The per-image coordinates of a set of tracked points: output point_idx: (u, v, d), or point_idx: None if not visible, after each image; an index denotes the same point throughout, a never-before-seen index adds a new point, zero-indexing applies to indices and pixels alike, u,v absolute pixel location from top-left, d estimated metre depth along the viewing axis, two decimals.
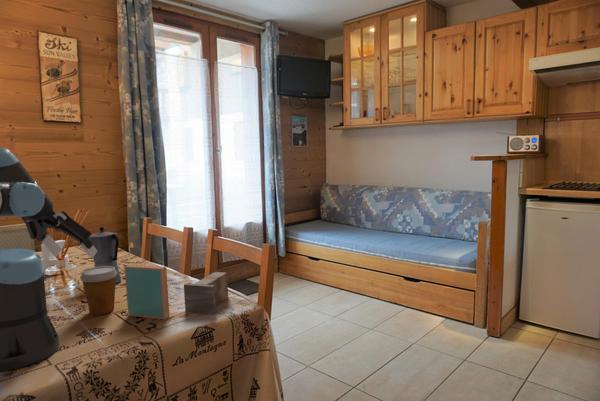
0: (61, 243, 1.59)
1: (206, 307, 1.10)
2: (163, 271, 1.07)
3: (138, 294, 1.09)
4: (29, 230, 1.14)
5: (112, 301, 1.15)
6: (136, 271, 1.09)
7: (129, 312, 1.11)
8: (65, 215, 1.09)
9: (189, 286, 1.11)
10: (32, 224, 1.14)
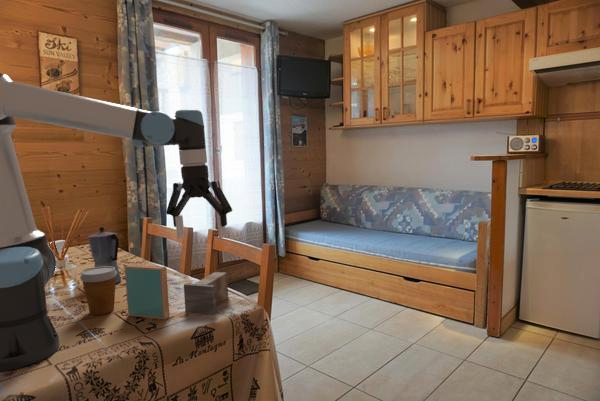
0: (61, 243, 1.59)
1: (206, 307, 1.10)
2: (163, 271, 1.07)
3: (138, 294, 1.09)
4: (171, 201, 1.17)
5: (112, 301, 1.15)
6: (136, 271, 1.09)
7: (129, 312, 1.11)
8: (218, 184, 1.14)
9: (189, 286, 1.11)
10: (177, 195, 1.18)
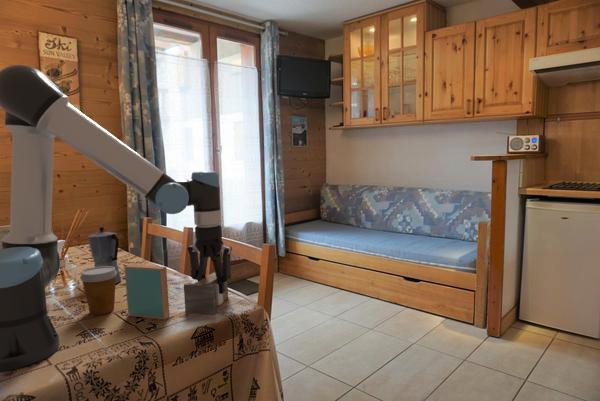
0: (61, 243, 1.59)
1: (206, 307, 1.10)
2: (163, 271, 1.07)
3: (138, 294, 1.09)
4: (192, 265, 1.17)
5: (112, 301, 1.15)
6: (136, 271, 1.09)
7: (129, 312, 1.11)
8: (230, 251, 1.15)
9: (189, 286, 1.11)
10: (195, 258, 1.18)
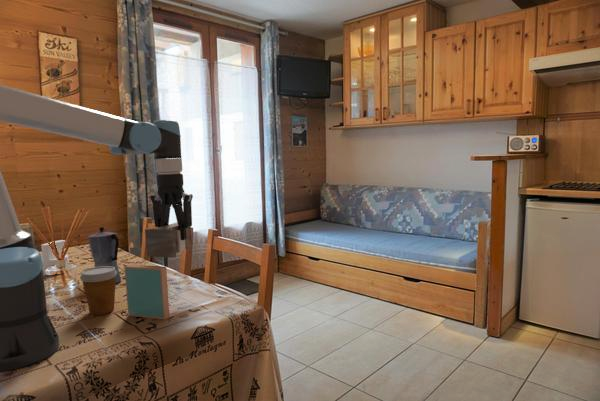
0: (61, 243, 1.59)
1: (166, 250, 1.14)
2: (163, 271, 1.07)
3: (138, 294, 1.09)
4: (155, 213, 1.21)
5: (112, 301, 1.15)
6: (136, 271, 1.09)
7: (129, 312, 1.11)
8: (190, 198, 1.19)
9: (150, 230, 1.15)
10: (158, 206, 1.22)
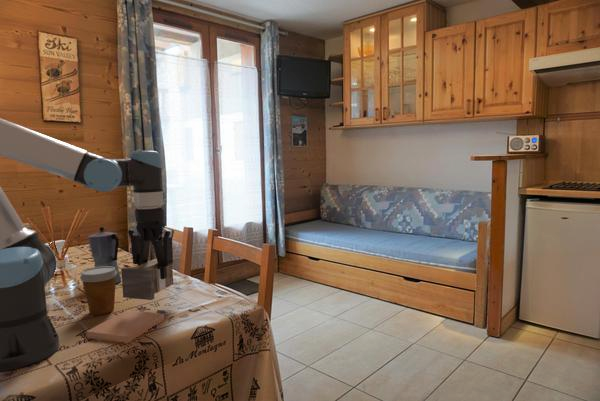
0: (61, 243, 1.59)
1: (144, 292, 1.06)
2: (130, 339, 0.95)
3: None
4: (133, 249, 1.12)
5: (112, 301, 1.15)
6: None
7: None
8: (171, 235, 1.10)
9: (126, 270, 1.06)
10: (136, 242, 1.13)
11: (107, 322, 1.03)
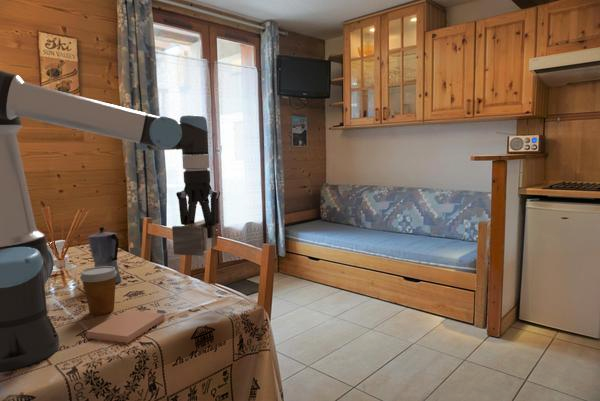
0: (61, 243, 1.59)
1: (194, 248, 1.12)
2: (130, 339, 0.95)
3: None
4: (181, 210, 1.19)
5: (112, 301, 1.15)
6: None
7: None
8: (218, 196, 1.16)
9: (177, 228, 1.13)
10: (184, 203, 1.19)
11: (107, 322, 1.03)
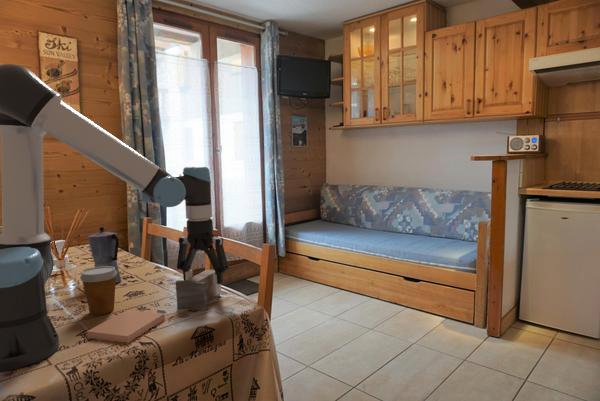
0: (61, 243, 1.59)
1: (197, 303, 1.13)
2: (131, 339, 0.95)
3: None
4: (179, 256, 1.21)
5: (112, 301, 1.15)
6: None
7: None
8: (221, 242, 1.18)
9: (181, 283, 1.14)
10: (184, 249, 1.21)
11: (107, 322, 1.03)
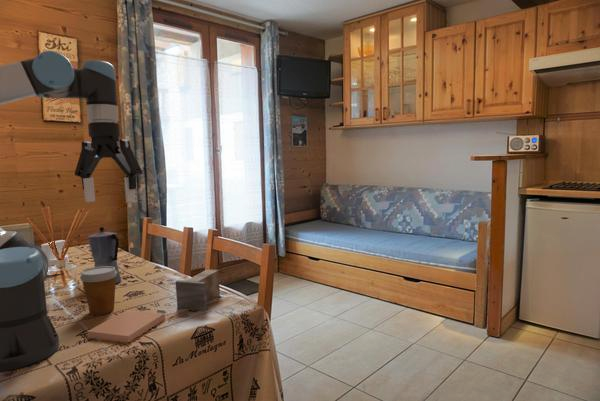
0: (61, 243, 1.59)
1: (197, 303, 1.13)
2: (131, 339, 0.95)
3: None
4: (79, 161, 1.09)
5: (112, 301, 1.15)
6: None
7: None
8: (128, 144, 1.06)
9: (181, 283, 1.14)
10: (86, 155, 1.09)
11: (108, 322, 1.03)
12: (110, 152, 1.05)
